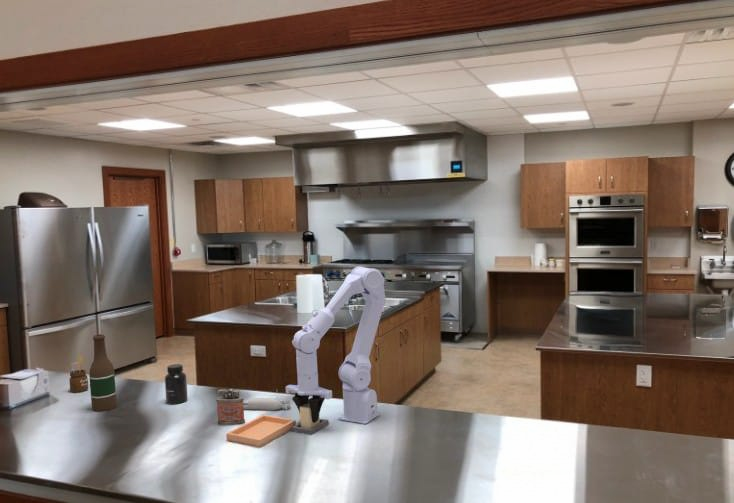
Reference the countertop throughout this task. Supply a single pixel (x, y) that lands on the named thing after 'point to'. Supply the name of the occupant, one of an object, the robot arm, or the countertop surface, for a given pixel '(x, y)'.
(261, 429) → the parts tray
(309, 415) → the tan rectangular block
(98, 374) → the beer bottle
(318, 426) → the socket
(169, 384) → the supplement bottle
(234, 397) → the lighter
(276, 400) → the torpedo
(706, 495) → the countertop surface
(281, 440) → the countertop surface
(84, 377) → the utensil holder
